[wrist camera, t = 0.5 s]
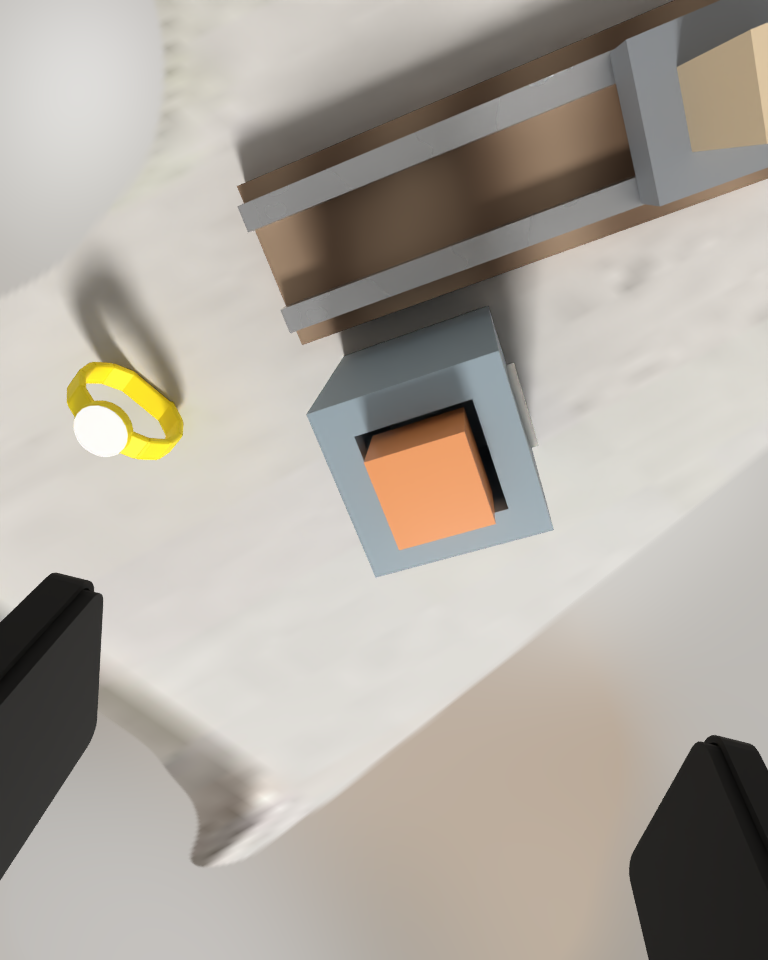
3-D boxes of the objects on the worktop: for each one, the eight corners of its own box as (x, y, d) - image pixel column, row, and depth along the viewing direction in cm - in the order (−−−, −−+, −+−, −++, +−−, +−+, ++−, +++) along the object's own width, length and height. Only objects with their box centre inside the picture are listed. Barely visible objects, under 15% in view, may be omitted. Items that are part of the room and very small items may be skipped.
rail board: (734, -22, 29) (759, -40, 26) (763, 175, 32) (789, 174, 29) (245, 185, 34) (229, 186, 31) (308, 338, 37) (297, 350, 34)
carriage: (766, -13, 26) (929, -113, 17) (789, 150, 28) (944, 136, 19) (609, 53, 28) (683, -8, 19) (641, 203, 30) (721, 215, 21)
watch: (203, 410, 39) (169, 452, 34) (176, 443, 40) (139, 489, 35) (114, 340, 38) (63, 374, 32) (88, 376, 39) (35, 415, 33)
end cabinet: (495, 303, 35) (509, 347, 26) (538, 443, 38) (563, 527, 29) (344, 356, 37) (306, 414, 28) (394, 485, 40) (375, 577, 31)
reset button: (463, 406, 28) (464, 431, 25) (492, 491, 29) (495, 524, 27) (372, 435, 29) (363, 462, 26) (404, 516, 30) (398, 550, 28)
